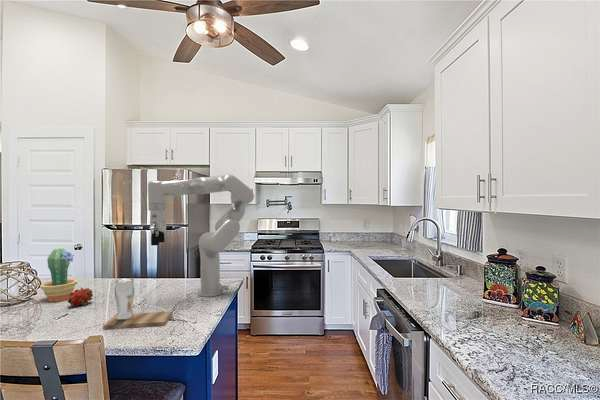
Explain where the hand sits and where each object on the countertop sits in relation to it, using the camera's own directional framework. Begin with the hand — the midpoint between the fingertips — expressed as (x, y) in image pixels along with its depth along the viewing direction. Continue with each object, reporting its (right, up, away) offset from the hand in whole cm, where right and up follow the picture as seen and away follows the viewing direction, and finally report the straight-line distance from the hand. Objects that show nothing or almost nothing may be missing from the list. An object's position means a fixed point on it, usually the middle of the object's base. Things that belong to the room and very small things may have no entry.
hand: (158, 243), depth 153 cm
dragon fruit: (-36, -29, -1) cm, 46 cm away
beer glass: (-4, -27, -22) cm, 35 cm away
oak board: (+2, -28, -23) cm, 36 cm away
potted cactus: (-54, -29, +10) cm, 62 cm away
